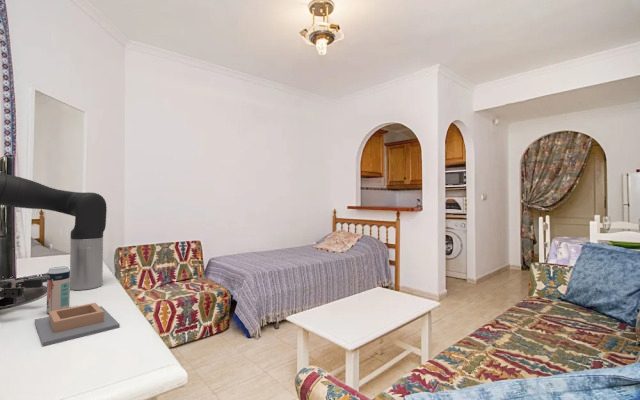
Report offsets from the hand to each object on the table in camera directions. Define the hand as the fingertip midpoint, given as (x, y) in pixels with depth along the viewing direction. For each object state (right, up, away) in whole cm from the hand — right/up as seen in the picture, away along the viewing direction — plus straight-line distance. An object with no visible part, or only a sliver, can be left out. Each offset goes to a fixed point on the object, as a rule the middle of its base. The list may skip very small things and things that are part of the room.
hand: (32, 287), depth 84 cm
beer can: (+5, -7, +2) cm, 9 cm away
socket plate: (+17, -7, -7) cm, 20 cm away
